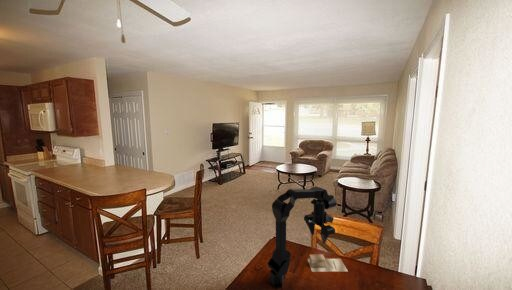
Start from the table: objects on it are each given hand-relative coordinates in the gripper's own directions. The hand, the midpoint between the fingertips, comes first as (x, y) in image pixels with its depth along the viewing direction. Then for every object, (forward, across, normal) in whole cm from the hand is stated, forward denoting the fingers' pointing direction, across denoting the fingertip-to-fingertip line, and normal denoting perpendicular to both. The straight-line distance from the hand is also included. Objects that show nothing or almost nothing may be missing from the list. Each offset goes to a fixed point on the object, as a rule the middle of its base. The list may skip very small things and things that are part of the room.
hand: (318, 239), depth 116 cm
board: (+13, -5, -2) cm, 14 cm away
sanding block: (+12, -3, +2) cm, 13 cm away
